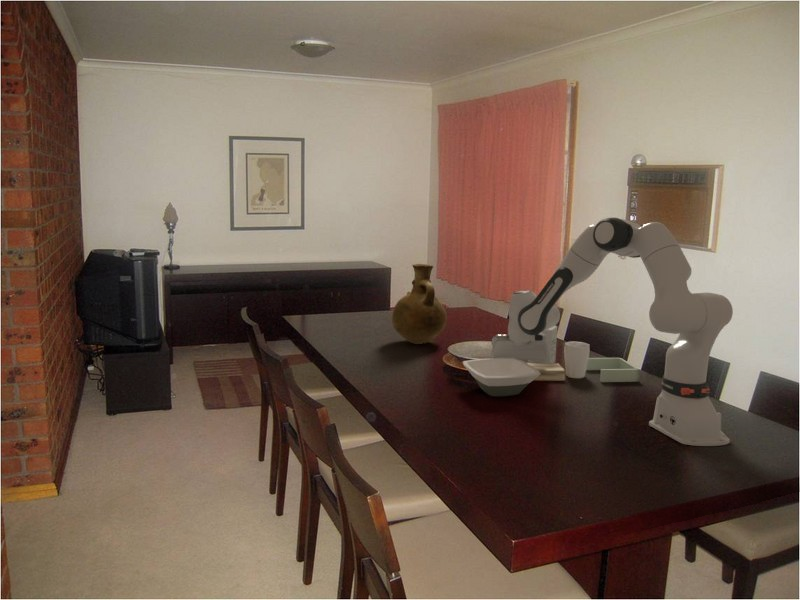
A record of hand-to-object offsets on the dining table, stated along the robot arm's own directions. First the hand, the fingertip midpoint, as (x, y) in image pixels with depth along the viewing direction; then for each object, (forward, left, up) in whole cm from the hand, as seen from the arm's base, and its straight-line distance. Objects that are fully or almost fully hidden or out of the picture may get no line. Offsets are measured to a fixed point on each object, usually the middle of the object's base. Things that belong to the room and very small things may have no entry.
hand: (518, 371), depth 230 cm
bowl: (-16, +11, -2) cm, 19 cm away
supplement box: (+17, -14, -2) cm, 22 cm away
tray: (0, -35, -2) cm, 35 cm away
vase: (+51, +31, -2) cm, 60 cm away
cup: (0, -21, -2) cm, 22 cm away
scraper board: (0, -10, -2) cm, 10 cm away
